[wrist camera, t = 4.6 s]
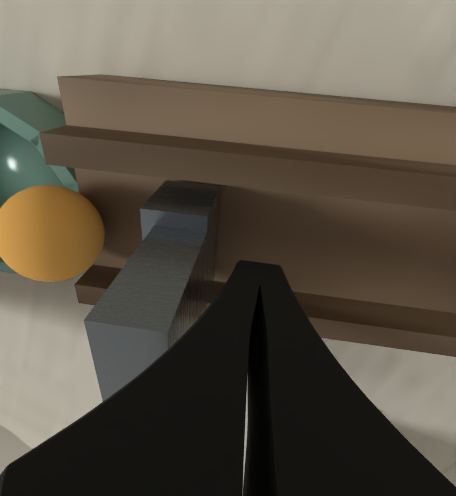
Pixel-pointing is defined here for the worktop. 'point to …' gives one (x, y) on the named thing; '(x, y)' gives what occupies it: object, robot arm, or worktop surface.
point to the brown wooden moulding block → (282, 194)
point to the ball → (50, 233)
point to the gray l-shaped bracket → (157, 284)
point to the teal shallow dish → (27, 147)
